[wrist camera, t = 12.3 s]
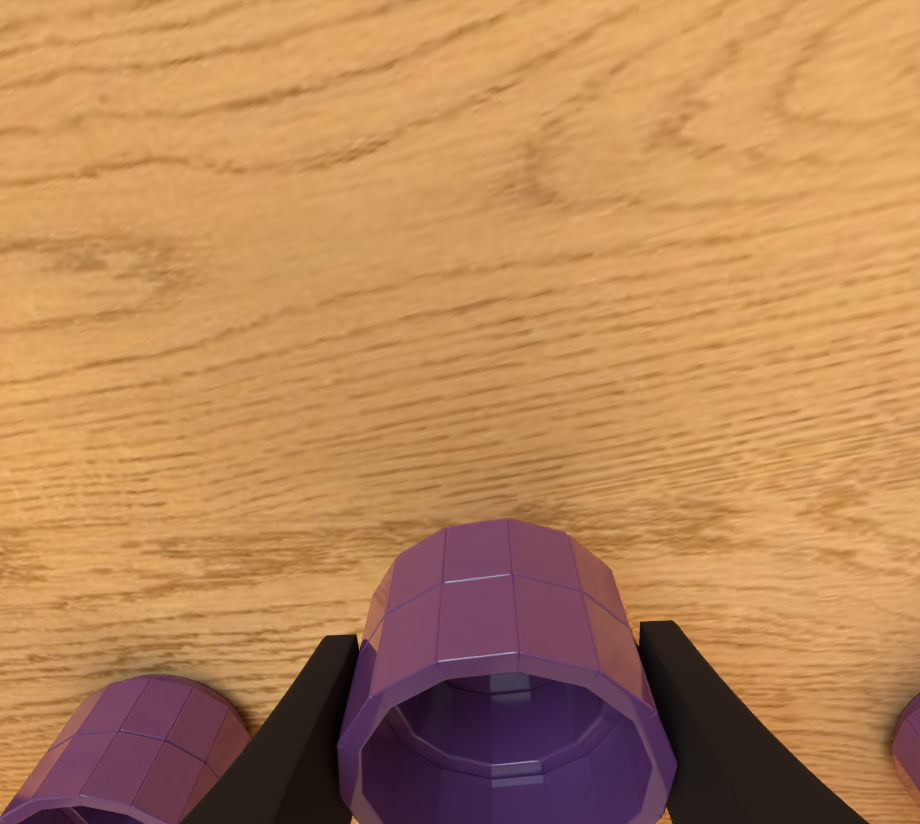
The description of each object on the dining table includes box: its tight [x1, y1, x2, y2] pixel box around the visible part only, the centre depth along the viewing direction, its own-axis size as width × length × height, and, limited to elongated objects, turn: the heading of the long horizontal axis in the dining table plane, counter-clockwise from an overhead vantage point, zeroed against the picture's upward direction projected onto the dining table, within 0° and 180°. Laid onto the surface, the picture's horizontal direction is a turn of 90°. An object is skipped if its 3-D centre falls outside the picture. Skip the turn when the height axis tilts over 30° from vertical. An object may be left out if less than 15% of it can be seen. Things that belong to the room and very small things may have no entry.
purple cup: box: [337, 518, 678, 824], centre depth 12 cm, size 5×6×4 cm
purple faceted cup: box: [0, 675, 251, 824], centre depth 17 cm, size 5×6×4 cm
